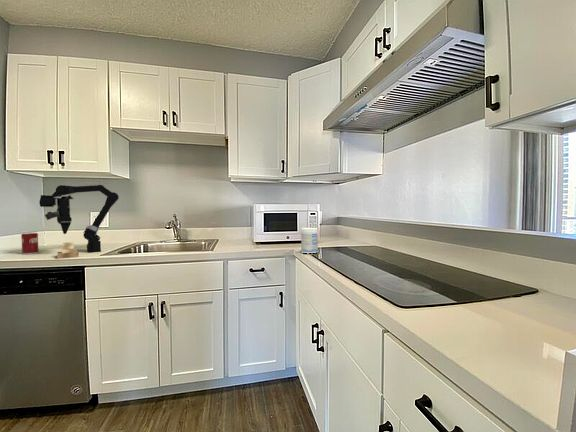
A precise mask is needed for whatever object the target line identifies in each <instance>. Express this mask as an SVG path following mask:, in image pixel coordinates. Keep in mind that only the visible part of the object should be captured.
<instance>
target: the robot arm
mask: <svg viewBox="0 0 576 432" xmlns="http://www.w3.org/2000/svg"><path fill="white" fill-rule="evenodd" d="M91 192H92V193H93V192H95V193H96V192H100V193H101V194H103V195H104V196H105V197H106V200H105V203H104V205H103V207H102V208H101V210H100V211H99V213H98V215H97V216H96V218H95V220H94V221H93V222H92V224H91V225H86V228H85V229H84V231H83V238H84V239H85V240H87V244H86V252H88V253H97V252H102V247H101V244H102V243H101V236H99V235H98V231H99V228H100V226H101V225H102V222H103V221H104V219H105V218H106V216H107V214H108V213H109V211H110V210H111V208H112V207H113V206H114V205H115V204H116V203H117V201H119V199H120V196H119V194H118V193H117V192H113V191H111V190H109V189H107V188H106V187H105V186H104V185H102V184H95V185H82V186H81V185H79V186H77V185H75V186H73V185H57V186H56V187H55V191H54V192H53V193H52V194H51V195H49V194H48V195H45V194H41V195H40V198H39V206H40V207H41V208H53V207H55V206H57V207H56V208H57V209H56V211H53V212H52V211H47V213H45V214H44V216H45V219H46V220H47V221H48V220H51V219H53V218H56V221H57V223H58V224H59V225H60V227H61V231H62V234H64V235H66V234H67V233H68V230H69V228H70V226H71V223H72V219H73V218H72V217H71V208H70V207H71V204H70V203H71V201H70V200H74V197H73V196H72V195H73V194H77V193H78V194H79V193H91Z"/></svg>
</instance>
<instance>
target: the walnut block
mask: <svg viewBox="0 0 576 432" xmlns="http://www.w3.org/2000/svg"><path fill="white" fill-rule="evenodd" d="M79 257H80V254H79V250H74V252H72V253H62V251H57V260H60V259H69V258H79Z"/></svg>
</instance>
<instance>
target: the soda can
mask: <svg viewBox="0 0 576 432" xmlns="http://www.w3.org/2000/svg"><path fill="white" fill-rule="evenodd" d="M20 235H21V253H22V254H23V255H31V254H33V253H34V254H38V253H39V250H40V249H39V233H38V232H26V233H25V232H24V233H23V232H22V233H21V234H20ZM34 254H33V255H34Z"/></svg>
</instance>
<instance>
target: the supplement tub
mask: <svg viewBox="0 0 576 432" xmlns="http://www.w3.org/2000/svg"><path fill="white" fill-rule="evenodd" d="M318 231H319V230H318V227H302V228H301V237H300V238H301V239H300V240H301V241H300V243H301V246H300V247H301V249H300V250H301V254H303V253H316V252H317V253H318V248H319V246H318V242H319V239H318V238H319V237H318V236H319V235H318V234H319V232H318Z"/></svg>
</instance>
